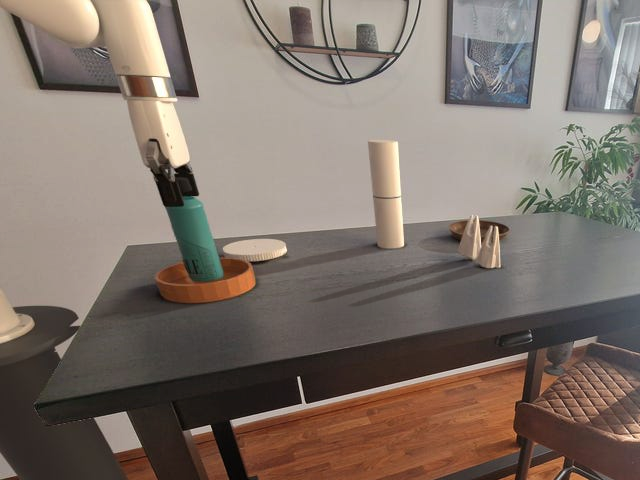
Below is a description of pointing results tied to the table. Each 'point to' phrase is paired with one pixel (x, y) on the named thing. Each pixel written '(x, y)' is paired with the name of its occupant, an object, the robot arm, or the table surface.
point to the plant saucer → (460, 227)
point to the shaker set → (473, 248)
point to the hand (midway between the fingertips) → (182, 201)
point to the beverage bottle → (194, 237)
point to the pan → (184, 290)
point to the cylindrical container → (386, 192)
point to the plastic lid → (255, 249)
